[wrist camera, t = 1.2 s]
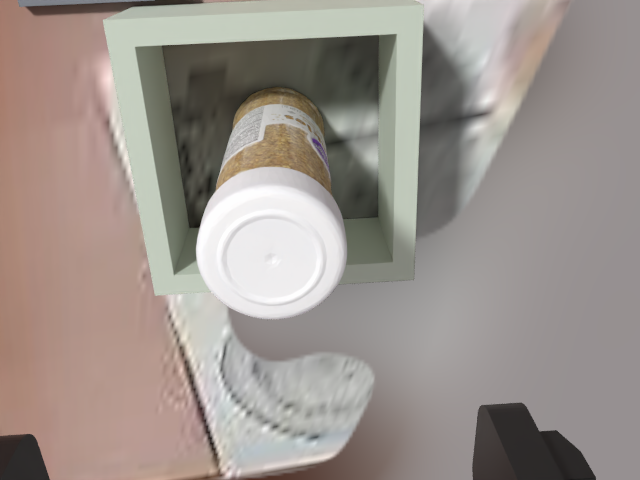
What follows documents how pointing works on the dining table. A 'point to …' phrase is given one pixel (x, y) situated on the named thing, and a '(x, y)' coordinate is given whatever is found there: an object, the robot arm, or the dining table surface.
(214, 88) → the dining table surface
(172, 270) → the crate
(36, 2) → the coaster
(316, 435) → the dining table surface
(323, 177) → the sprinkles bottle
